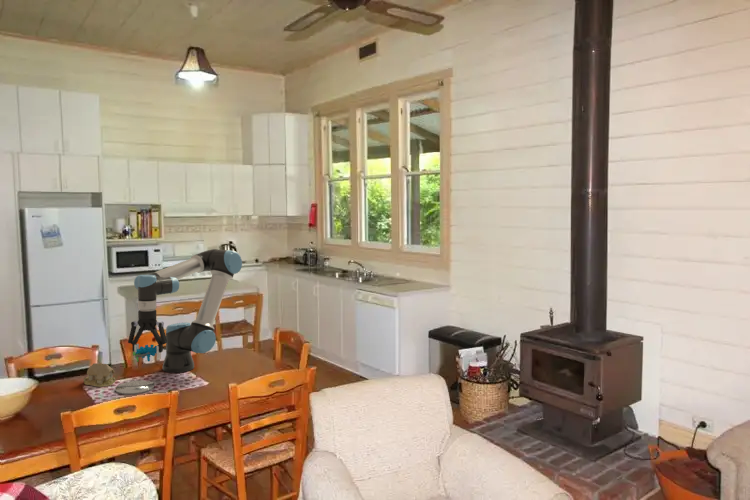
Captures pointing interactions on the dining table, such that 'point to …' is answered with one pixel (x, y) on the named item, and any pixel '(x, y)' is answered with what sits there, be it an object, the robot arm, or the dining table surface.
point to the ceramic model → (99, 375)
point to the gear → (145, 352)
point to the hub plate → (134, 387)
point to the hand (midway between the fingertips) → (147, 359)
